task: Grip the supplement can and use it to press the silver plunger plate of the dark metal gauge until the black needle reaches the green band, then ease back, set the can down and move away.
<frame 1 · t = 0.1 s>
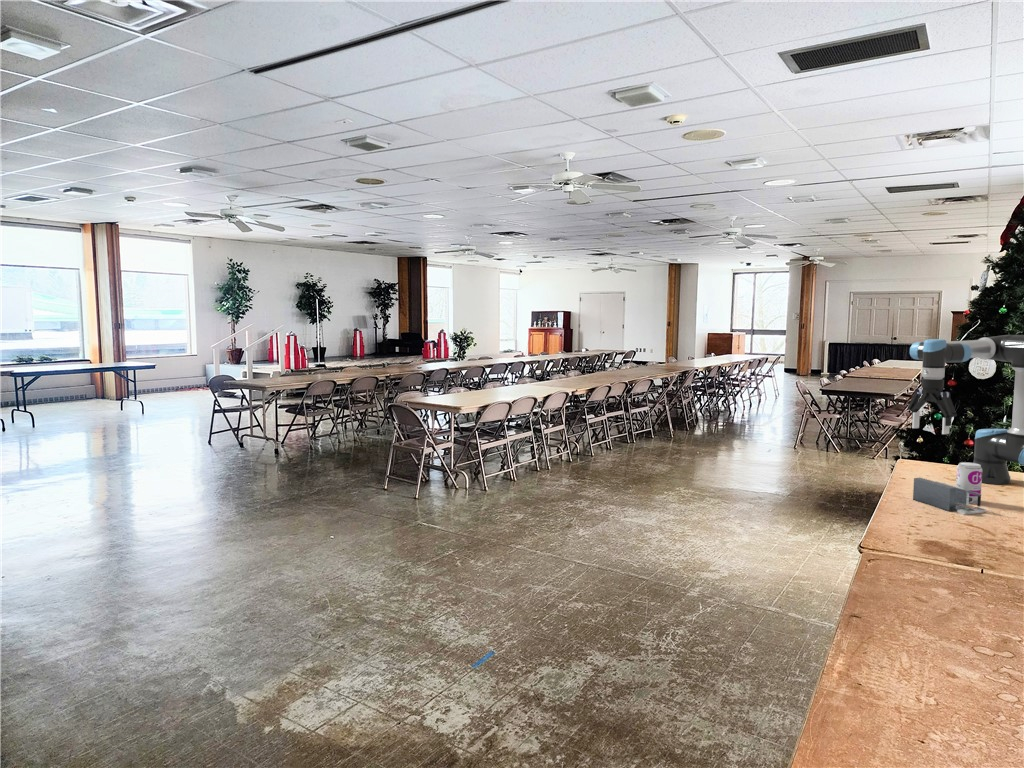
hand: (930, 431, 256), 28 cm above the table, tool pointing down, fingers open, 13 cm apart
supplement can: (967, 501, 255), on the table
gauge housing: (941, 504, 252), on the table
gauge plunger: (956, 494, 250), point 4 cm above the table, slide at 0.0 cm
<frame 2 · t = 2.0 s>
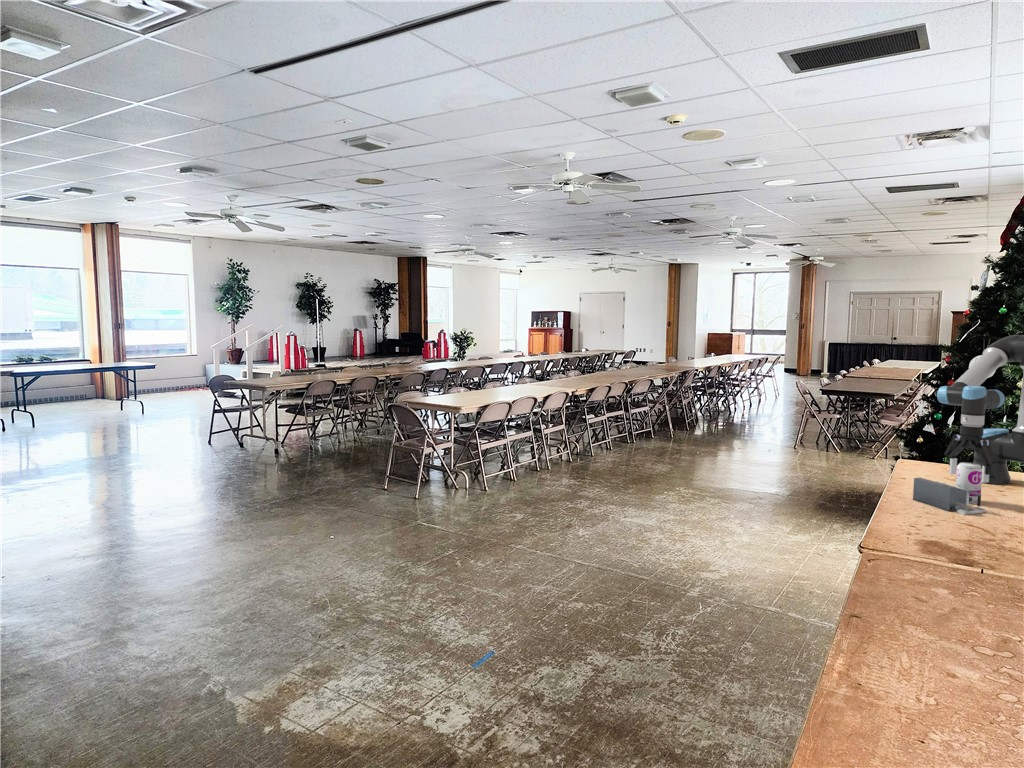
hand: (968, 478, 254), 9 cm above the table, tool pointing down, fingers open, 13 cm apart
nothing on the table moved.
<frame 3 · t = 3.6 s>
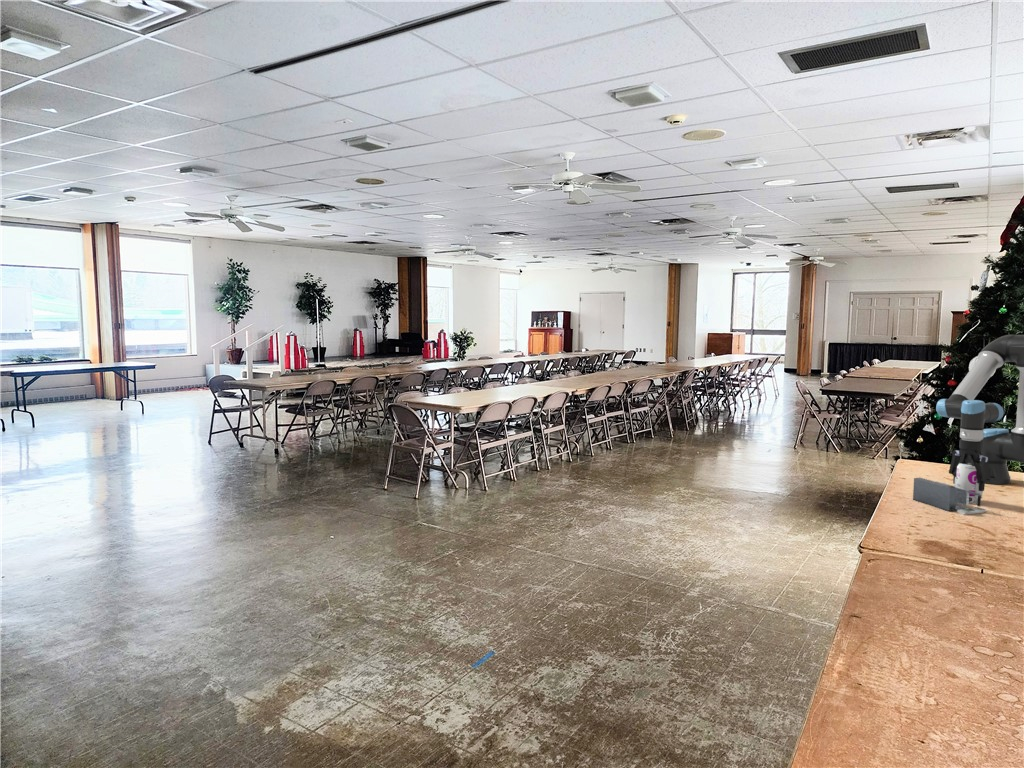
hand: (967, 495, 255), 2 cm above the table, tool pointing down, fingers closed on supplement can, 8 cm apart
supplement can: (967, 501, 255), on the table, touching gripper
everything else where it was.
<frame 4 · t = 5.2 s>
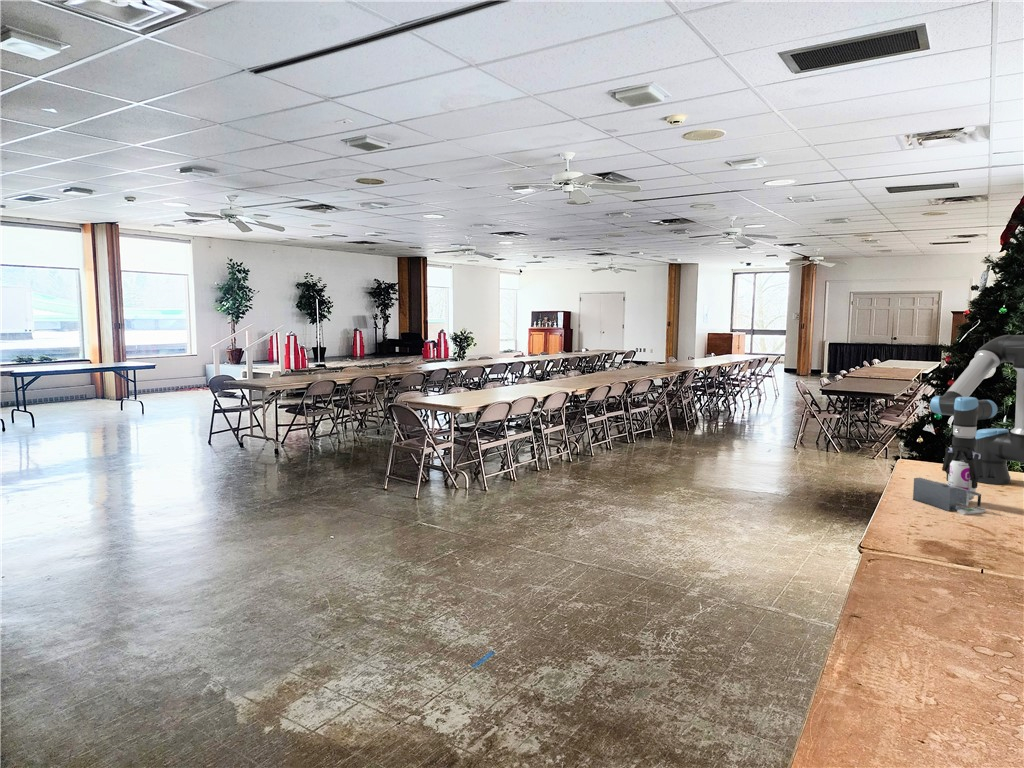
hand: (961, 492, 254), 4 cm above the table, tool pointing down, fingers closed on supplement can, 8 cm apart
supplement can: (960, 498, 254), point 1 cm above the table, touching gripper
everything else where it was.
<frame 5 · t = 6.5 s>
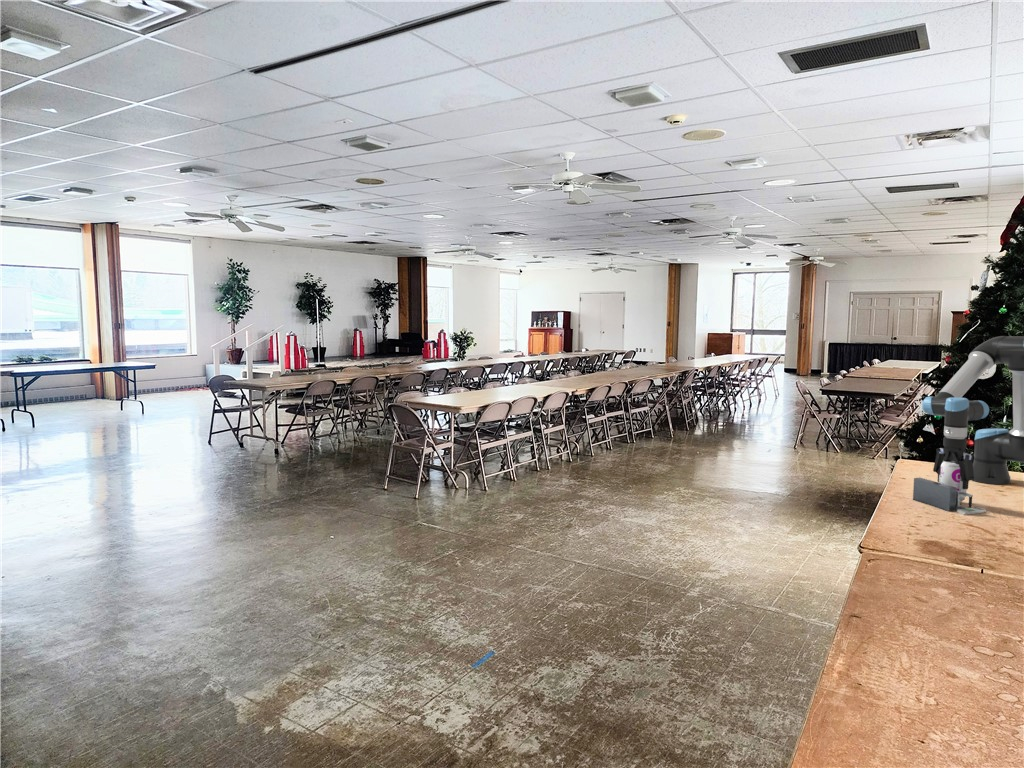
hand: (952, 493, 253), 4 cm above the table, tool pointing down, fingers closed on supplement can, 8 cm apart
supplement can: (951, 499, 253), point 1 cm above the table, touching gauge plunger, gripper
gauge plunger: (948, 495, 249), point 4 cm above the table, slide at 4.2 cm, touching supplement can
when the fingers open (3 cm above the table, at t = 8.9 s): supplement can stays where it is, on the table.
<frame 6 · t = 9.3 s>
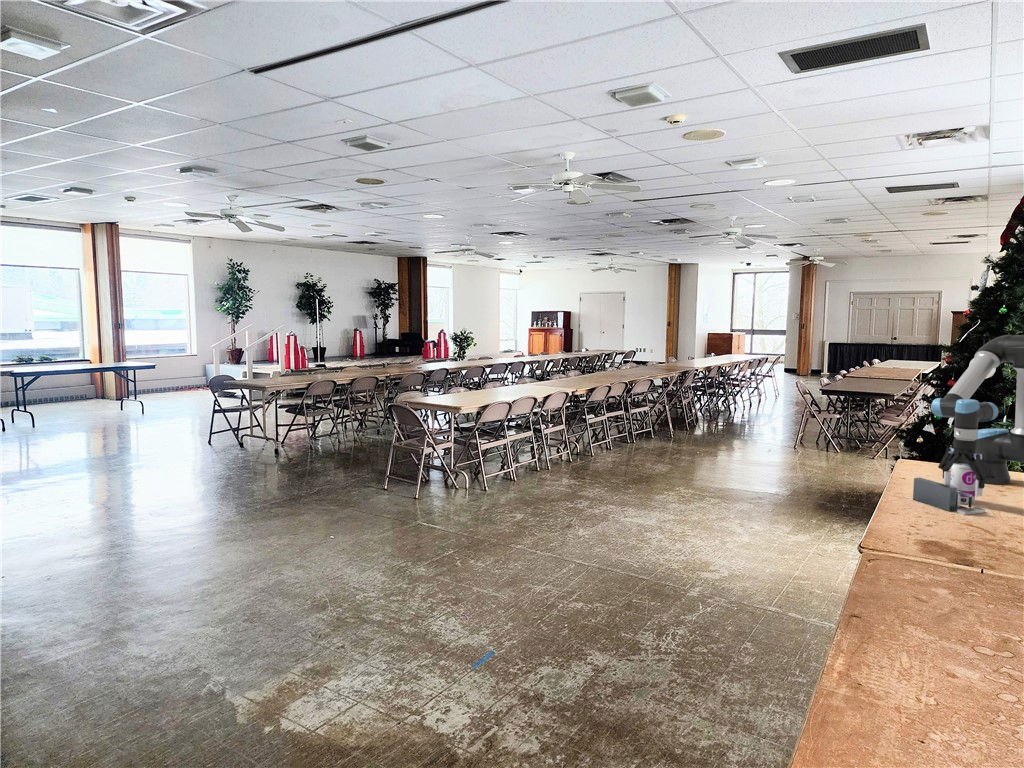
hand: (962, 491, 254), 4 cm above the table, tool pointing down, fingers open, 13 cm apart
supplement can: (961, 502, 254), on the table
gauge plunger: (948, 496, 249), point 4 cm above the table, slide at 4.3 cm
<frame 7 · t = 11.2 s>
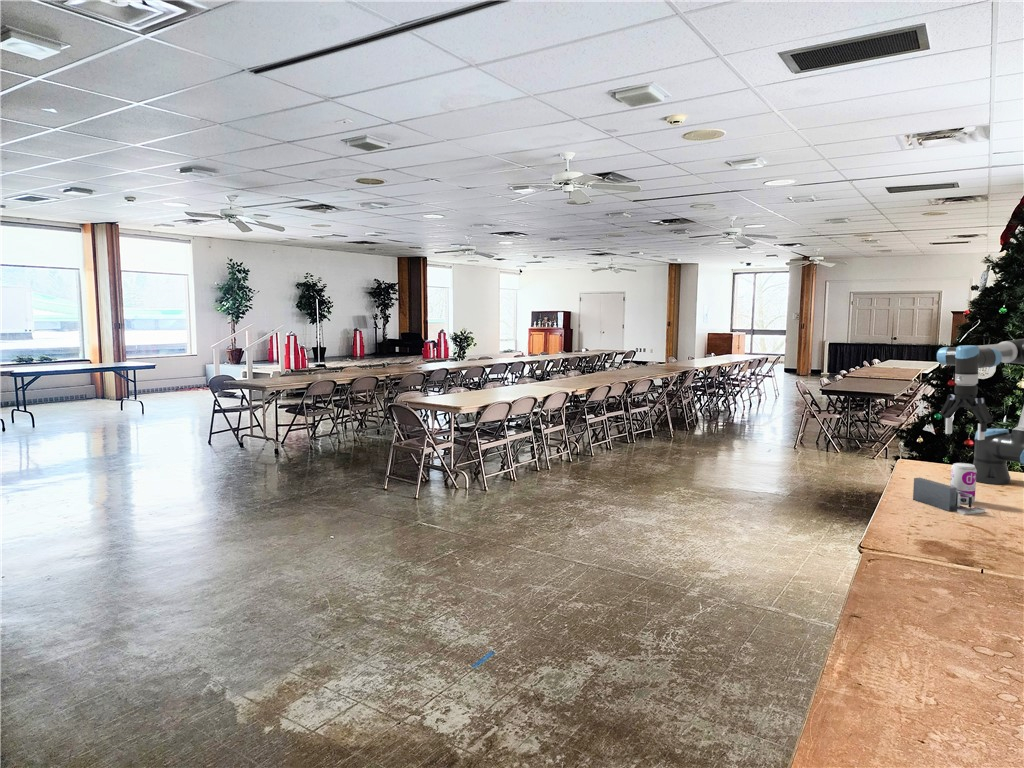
hand: (964, 436, 258), 25 cm above the table, tool pointing down, fingers open, 13 cm apart
nothing on the table moved.
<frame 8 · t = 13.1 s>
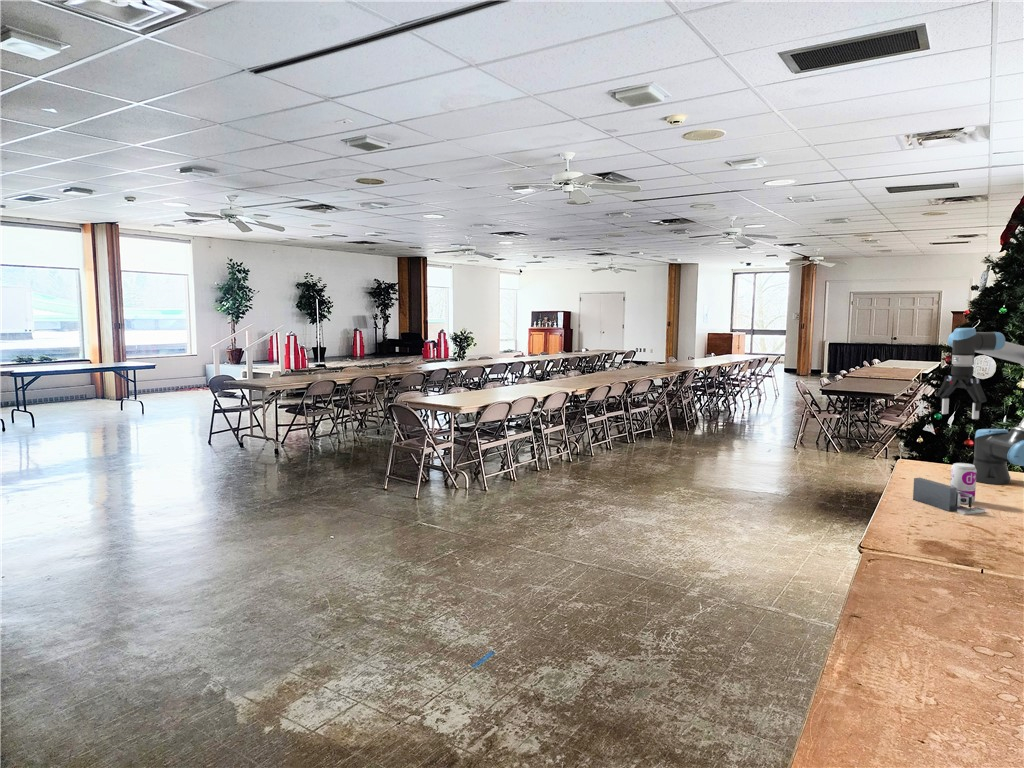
hand: (959, 416, 266), 32 cm above the table, tool pointing down, fingers open, 13 cm apart
nothing on the table moved.
at the end: gauge plunger slide at 4.3 cm; the gripper is holding nothing; supplement can tilted 0° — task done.
